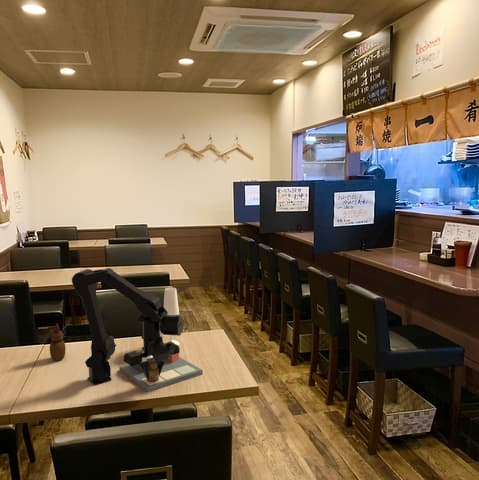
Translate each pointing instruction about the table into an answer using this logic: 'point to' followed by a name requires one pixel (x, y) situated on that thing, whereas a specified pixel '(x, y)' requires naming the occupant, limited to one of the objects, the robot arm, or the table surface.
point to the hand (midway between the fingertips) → (152, 376)
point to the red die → (173, 358)
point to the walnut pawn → (153, 371)
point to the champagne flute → (171, 306)
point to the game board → (162, 373)
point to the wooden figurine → (57, 344)
